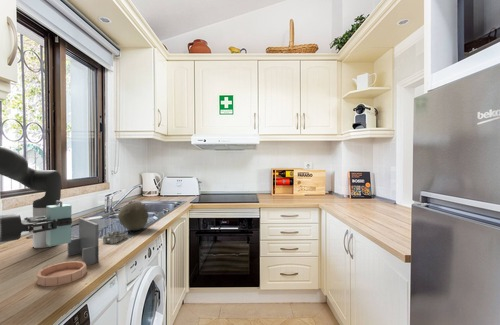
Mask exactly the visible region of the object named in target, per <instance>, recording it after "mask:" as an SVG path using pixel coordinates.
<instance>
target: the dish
mask: <svg viewBox="0 0 500 325" xmlns="http://www.w3.org/2000/svg"><path fill="white" fill-rule="evenodd" d="M36 274H37V275H36V278H37V279H36V282H37V285H38V286H42V287H53V286H56V287H57V286H60V285H65V284H68V283H73V282H74V281H77V280H79V279H81V278H83V276H84V275H86V274H87V266H86V264H85V262H82V261H80V260H73V261H72V260H71V261H64V262H59V263H55V264H52V265H49V266H46V267H43V268H41V269H40V270H39V271H37V273H36Z"/></svg>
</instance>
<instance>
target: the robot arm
mask: <svg viewBox="0 0 500 325" xmlns="http://www.w3.org/2000/svg"><path fill="white" fill-rule="evenodd" d="M0 176H3V177H6V178H9V179H11V180H13V181H15V182H17V183H20V184H22V185H23V186H24V187H26V188H28V189H29V190H32V191H35V192H45V194H44V196H42V197H41V198H39V199H35V200H33V201H32V216H30V217H24V219H23V220H22V218H21V215H20V214H19V213H12V214H5V215H0V243H6V242H12V241H13V242H14V241H17V240H19V239H21V237H22V233H23V232H28V233H32V247H34V249H45V248H50V247H52V246H49V245H48V244H46V231H47V230H52V229H57V227H58V226H65V225H71V226H72V224H73V223H72V222H73V221H72V220H73V218H72V217H71V218H62V219H53V220H49V219H48V218H46V206H50V205H56V201H57V200H58V201H61V196H62V195H61V194H62V176H61V173H60V172H59V171H58V170H56V169H55V170H54V169H52V170H51V169H50V170H49V169H45V170H44V169H33V168H31V167H29V163H28V160H27V158H26V157H25V156H23V155H22V154H20V153H18V152H17V151H15V150H13V149H10V148H9V147H6V146H2V145H0ZM58 205H60V203H58ZM50 223H52V226H48V224H50Z"/></svg>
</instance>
